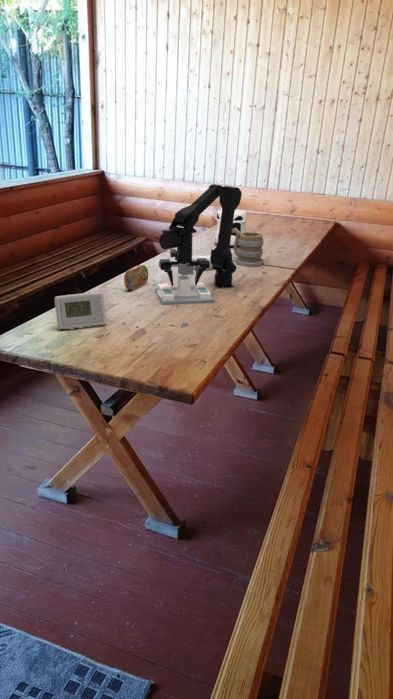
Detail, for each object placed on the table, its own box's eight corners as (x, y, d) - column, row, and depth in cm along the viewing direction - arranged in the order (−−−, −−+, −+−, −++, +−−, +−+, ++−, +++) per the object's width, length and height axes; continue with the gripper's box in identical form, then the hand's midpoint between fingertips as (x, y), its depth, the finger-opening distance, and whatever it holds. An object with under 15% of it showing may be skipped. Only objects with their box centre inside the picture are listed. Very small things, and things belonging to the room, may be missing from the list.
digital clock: (56, 331, 177) (53, 300, 172) (57, 321, 185) (54, 291, 181) (107, 329, 180) (105, 298, 175) (106, 319, 188) (104, 290, 183)
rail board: (203, 288, 223) (204, 280, 222) (214, 302, 207) (214, 294, 206) (155, 290, 219) (155, 282, 218) (161, 304, 203) (161, 296, 202)
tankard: (268, 264, 261) (270, 233, 255) (247, 268, 254) (249, 235, 248) (241, 255, 276) (243, 225, 270) (221, 258, 269) (223, 228, 263)
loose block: (187, 271, 247) (188, 262, 245) (193, 274, 243) (193, 265, 241) (177, 272, 244) (178, 263, 243) (183, 275, 240) (183, 266, 239)
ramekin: (209, 264, 259) (209, 253, 257) (217, 270, 249) (218, 259, 247) (186, 265, 255) (187, 254, 253) (194, 272, 246) (194, 260, 244)
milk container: (212, 241, 303) (213, 208, 296) (242, 241, 305) (244, 208, 298) (216, 249, 288) (217, 214, 281) (248, 248, 290) (251, 214, 282)
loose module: (187, 290, 216) (187, 275, 213) (190, 295, 210) (190, 279, 208) (177, 290, 215) (177, 275, 213) (180, 295, 210) (180, 280, 207)
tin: (129, 292, 216) (129, 272, 212) (123, 291, 217) (122, 270, 214) (149, 283, 228) (148, 263, 225) (142, 282, 229) (142, 262, 226)
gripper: (204, 240, 214) (203, 279, 221) (156, 241, 211) (157, 280, 217) (210, 246, 204) (209, 287, 211) (161, 248, 201) (161, 289, 207)
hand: (184, 285), depth 212 cm, fingers open, 9 cm apart
